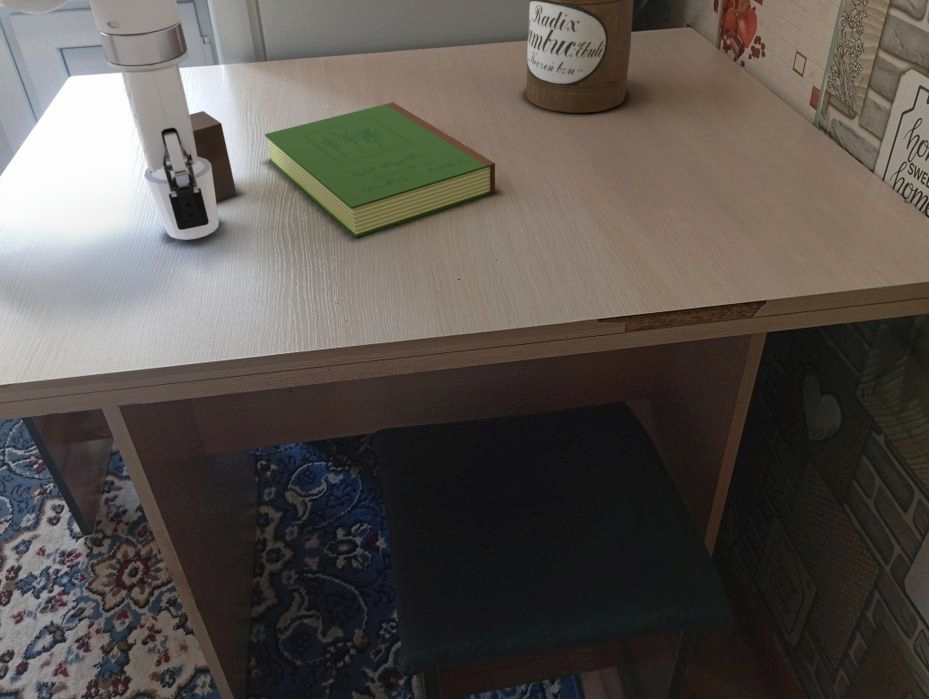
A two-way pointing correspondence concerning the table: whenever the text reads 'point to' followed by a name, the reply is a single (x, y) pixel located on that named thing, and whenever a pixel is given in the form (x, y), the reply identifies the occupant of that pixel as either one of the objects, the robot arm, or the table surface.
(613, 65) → the wooden container
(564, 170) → the table surface
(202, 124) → the walnut block
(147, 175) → the white cup
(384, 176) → the hardcover book
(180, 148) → the robot arm
